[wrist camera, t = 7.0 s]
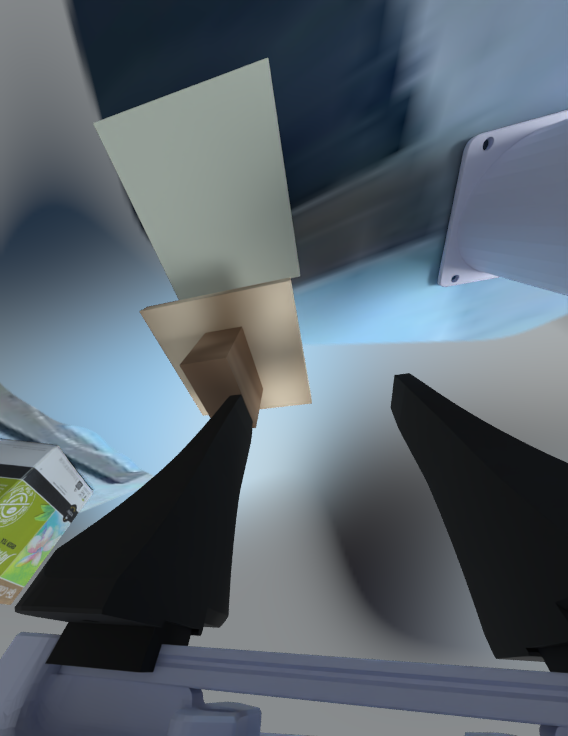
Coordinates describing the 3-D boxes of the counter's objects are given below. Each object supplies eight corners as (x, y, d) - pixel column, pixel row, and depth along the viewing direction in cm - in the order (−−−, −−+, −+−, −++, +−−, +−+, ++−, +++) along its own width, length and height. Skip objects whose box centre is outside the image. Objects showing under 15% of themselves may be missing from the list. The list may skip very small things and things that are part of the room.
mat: (269, 65, 11) (267, 57, 10) (300, 274, 16) (300, 276, 16) (101, 127, 12) (92, 123, 12) (182, 299, 18) (179, 301, 17)
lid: (290, 277, 12) (288, 302, 8) (311, 396, 17) (315, 443, 13) (147, 306, 13) (91, 339, 9) (206, 408, 18) (184, 454, 14)
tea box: (98, 490, 40) (12, 608, 28) (43, 484, 40) (-68, 601, 27) (59, 443, 31) (-89, 584, 19) (-11, 435, 31) (-209, 573, 19)
